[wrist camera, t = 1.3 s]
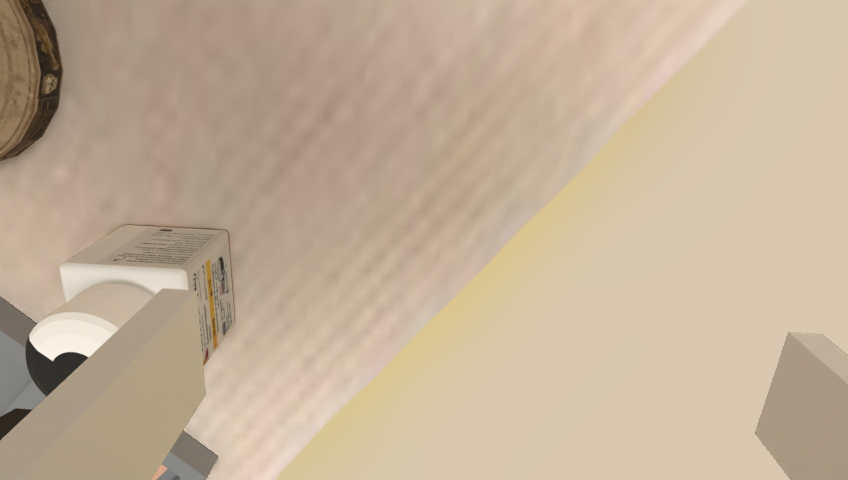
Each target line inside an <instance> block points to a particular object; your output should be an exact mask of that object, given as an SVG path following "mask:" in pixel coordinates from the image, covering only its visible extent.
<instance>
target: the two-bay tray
mask: <svg viewBox="0 0 848 480" xmlns="http://www.w3.org/2000/svg"><path fill="white" fill-rule="evenodd" d="M36 325H37V323H35V322H34V321H32V320H31V319H30V318H28V317H27V316H26V315H24V314H23V313H22V312H20V311H19V310H17V309H16V308H15V307H13V306H12V305H11V304H9V303H8V302H7V301H5V300H4V299H2V298H1V297H0V417H1V416H3V415H4V414H6V413H8V412H10V411H12V410H14V409H15V408H19V409H34V408H35V407H36V406H37V405H39V404H40V403H41V402H42V401H43V400H44V399H45V398H46V396H45V395H44V394H43V393H42V392H41V391H40V390H39V388H38V387H37V386H36V384H35V383H34V381H33V380H32V378H31V376H30V374H29V371H28V368H27V363H26V356H25V348H26V343H27V339H28V337H29V334H30V333H31V331H32V330H33V328H34V327H35V326H36ZM217 458H218V456H217V455H215V454H214V453H213V452H211V451H210V450H209V449H207V448H206V447H205V446H203V445H202V444H200V443H199V442H198V441H196V440H195V439H194V438H192V437H191V436H190V435H188V434H187V433H185V432H184V431H182V433H181V434H180V436H179V437H178V439H177V441H176V442H175V444H174V445H173V447H172V448H171V450H170V451H169V453H168V455H167V456H166V458H165V459H164V461H163V462H162V464H161V466H160V467H159V469H158V470H157V472H156V473H155V475H154V476H153V478H152V480H205V479H206V478H207V477H208V475H209V473H210V471H211V469H212V467H213V465H214V463H215V462H216V460H217Z"/></svg>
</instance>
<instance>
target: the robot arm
mask: <svg viewBox="0 0 848 480" xmlns="http://www.w3.org/2000/svg"><path fill="white" fill-rule="evenodd" d="M205 395H206V390H205V379H204V367H203V356H202V344H201V333H200V321H199V310H198V298H197V291H195V290H180V289H166V288H162V289H161V290H160V291H159V292H158V293H157V294H156V295H155V296H154V297H153V298H152V299H151V300H149V301H148V302H147V303H146V304H145V305H144V306H143V307H142V308H141V309H140V310H139V311H138V312H137V313H136V314H135V315H133V316H132V317H131V318H130V319H129V320H128V321H127V322H126V323H125V324H124V325H123V326H122V327H121V328H120V329H119V330H117V331H116V332H115V333H114V334H113V335H112V336H111V337H110V338H109V339H108V340H107V341H106V342H105V343H104V344H103V345H101V346H100V347H99V348H98V349H97V350H96V351H95V352H94V353H93V354H92V355H91V356H90V357H89V358H88V359H87V360H85V361H84V362H83V363H82V364H81V365H80V366H79V367H78V368H77V369H76V370H75V371H74V372H73V373H72V374H71V375H69V376H68V377H67V378H66V379H65V380H64V381H63V382H62V383H61V384H60V385H59V386H58V387H57V388H56V389H55V390H53V391H52V392H51V393H50V394H49V395H48V396H47V397H46V398H45V399H44V400H43V401H42V402H41V403H40V404H39V405H37V406H36V407H35V408H34V409H19V408H15V409H14V410H12V411H10V412H8V413H6V414H4V415H3V416H1V417H0V480H152V478H153V476H154V475H155V473H156V472H157V470H158V469H159V467H160V466H161V464H162V462H163V461H164V459H165V458H166V456H167V455H168V453H169V451H170V450H171V448H172V447H173V445H174V444H175V442H176V441H177V439H178V437H179V436H180V434H181V433H182V431H183V430H184V428H185V426H186V425H187V423H188V422H189V420H190V419H191V417H192V416H193V414H194V412H195V411H196V409H197V408H198V406H199V405H200V403H201V401H202V400H203V398H204V397H205ZM755 434H756V436H757V437H758V438H759V439H760V441H761V442H762V443H763V445H764V446H765V447H766V449H767V450H768V451H769V452H770V454H771V455H772V456H773V458H774V459H775V460H776V461H777V463H778V464H779V465H780V467H781V468H782V469H783V470H784V472H785V473H786V474H787V476H788V477H789V478H790V480H848V354H847V353H846V352H844V351H843V350H842V349H841V348H839V347H838V346H837V345H836V344H834V343H833V342H832V341H830V340H829V339H828V338H827V337H826V336H824V335H823V334H811V333H796V332H788V334H787V338H786V340H785V343H784V346H783V350H782V353H781V355H780V358H779V362H778V365H777V368H776V371H775V374H774V377H773V380H772V383H771V386H770V389H769V392H768V395H767V398H766V401H765V404H764V407H763V410H762V413H761V416H760V419H759V422H758V425H757V428H756V431H755Z"/></svg>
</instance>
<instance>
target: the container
mask: <svg viewBox="0 0 848 480" xmlns="http://www.w3.org/2000/svg"><path fill="white" fill-rule="evenodd" d="M59 272H60V277H61V282H62V287H63V293H64V298H65V304H64V305H63V306H61V307H60V308H59V309H57V310H56V311H54V312H53V313H52V314H50V315H49V316H48V317H46V318H45V319H43V320H42V321H41V322H39V323H38V324H37V325H36V326H35V327H34V328H33V330H32V331H31V333H30V334H29V337H28V339H27V343H26V348H25V356H26V363H27V368H28V371H29V374H30V376H31V378H32V380H33V381H34V383H35V384H36V386H37V387H38V388H39V390H40V391H41V392H42V393H43V394H44V395H45V396H46V397H47V396H48V395H49V394H50V393H51V392H52V391H53V390H55V389H56V388H57V387H58V386H59V385H60V384H61V383H62V382H63V381H64V380H65V379H66V378H67V377H68V376H69V375H71V374H72V373H73V372H74V371H75V370H76V369H77V368H78V367H79V366H80V365H81V364H82V363H83V362H84V361H85V360H87V359H88V358H89V357H90V356H91V355H92V354H93V353H94V352H95V351H96V350H97V349H98V348H99V347H100V346H101V345H103V344H104V343H105V342H106V341H107V340H108V339H109V338H110V337H111V336H112V335H113V334H114V333H115V332H116V331H117V330H119V329H120V328H121V327H122V326H123V325H124V324H125V323H126V322H127V321H128V320H129V319H130V318H131V317H132V316H133V315H135V314H136V313H137V312H138V311H139V310H140V309H141V308H142V307H143V306H144V305H145V304H146V303H147V302H148V301H149V300H151V299H152V298H153V297H154V296H155V295H156V294H157V293H158V292H159V291H160V290H161V289H162V288H166V289H180V290H195V291H197V298H198V310H199V321H200V333H201V344H202V356H203V367H204V366H205V364H206V363H207V361H208V360H209V358H210V357H211V356H212V354H213V353H214V351H215V350H216V349H217V347H218V346H219V344H220V343H221V341H222V340H223V339H224V337H225V336H226V334H227V333H228V332H229V330H230V329H231V327H232V326H233V324H234V321H235V319H234V306H233V293H232V280H231V267H230V254H229V241H228V234H227V232H226V231H223V230H207V229H189V228H171V227H153V226H135V225H125V226H122V227H120V228H119V229H117V230H116V231H114V232H112V233H111V234H109V235H107V236H106V237H104V238H103V239H101V240H99V241H98V242H96V243H94V244H93V245H91V246H90V247H88V248H86V249H85V250H83V251H81V252H80V253H78V254H77V255H75V256H73V257H72V258H70V259H68V260H67V261H65V262H64V263H62V264H61V265H60V267H59Z"/></svg>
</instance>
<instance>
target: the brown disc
mask: <svg viewBox="0 0 848 480" xmlns="http://www.w3.org/2000/svg"><path fill="white" fill-rule="evenodd" d="M62 74H63V68H62V63H61V57H60V51H59V45H58V40H57V34H56V30H55V28H54V26H53V23H52V21H51V19H50V17H49V15H48V13H47V11H46V9H45V7H44V4H43V2H42V0H0V161H1V160H5V159H8V158H11V157H15V156H18V155H19V154H20V153H22V152H23V151H24V150H25V149H27V148H28V147H29V146H30V145H32V144H33V143H34V142H35V141H37V140H38V139H39V138H40V137H42V136H43V134H44V132H45V130H46V128H47V126H48V125H49V123H50V121H51V119H52V117H53V115H54V114H55V112H56V110H57V108H58V104H59V96H60V89H61V82H62Z"/></svg>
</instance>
